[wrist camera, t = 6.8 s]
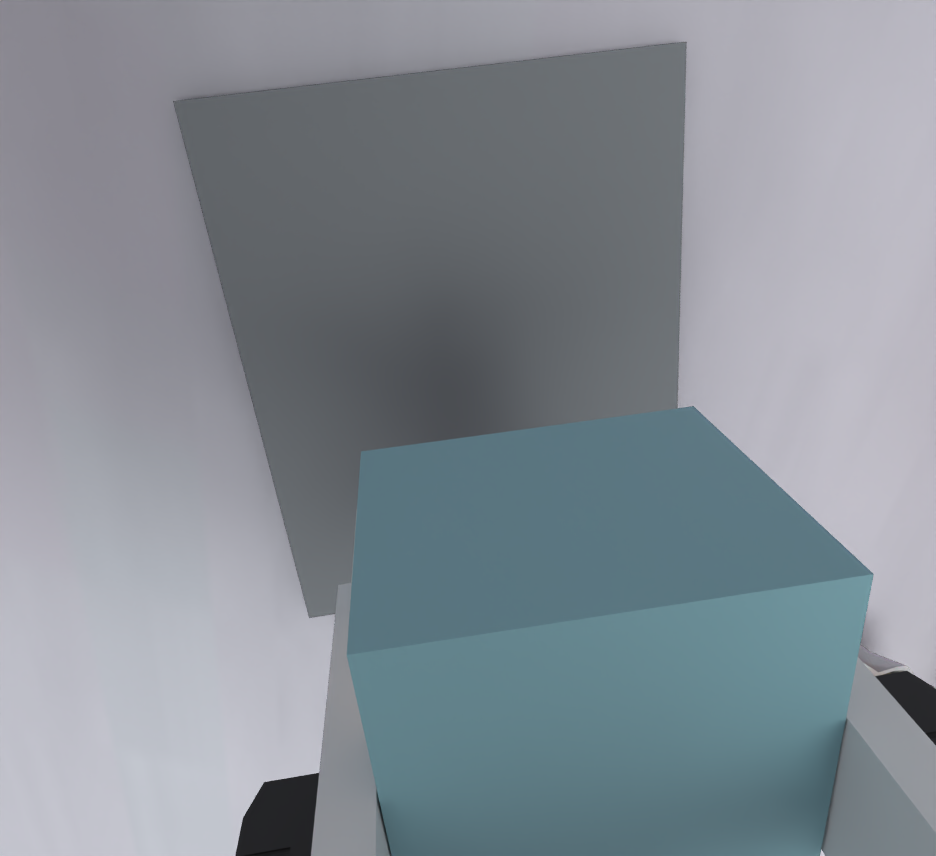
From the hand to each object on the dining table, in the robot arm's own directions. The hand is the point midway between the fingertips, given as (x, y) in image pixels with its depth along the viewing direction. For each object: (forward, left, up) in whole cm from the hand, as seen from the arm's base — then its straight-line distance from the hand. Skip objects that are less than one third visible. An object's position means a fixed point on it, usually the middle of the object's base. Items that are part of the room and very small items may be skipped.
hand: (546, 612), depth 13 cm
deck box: (+1, 0, -1) cm, 1 cm away
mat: (0, 0, -14) cm, 14 cm away
